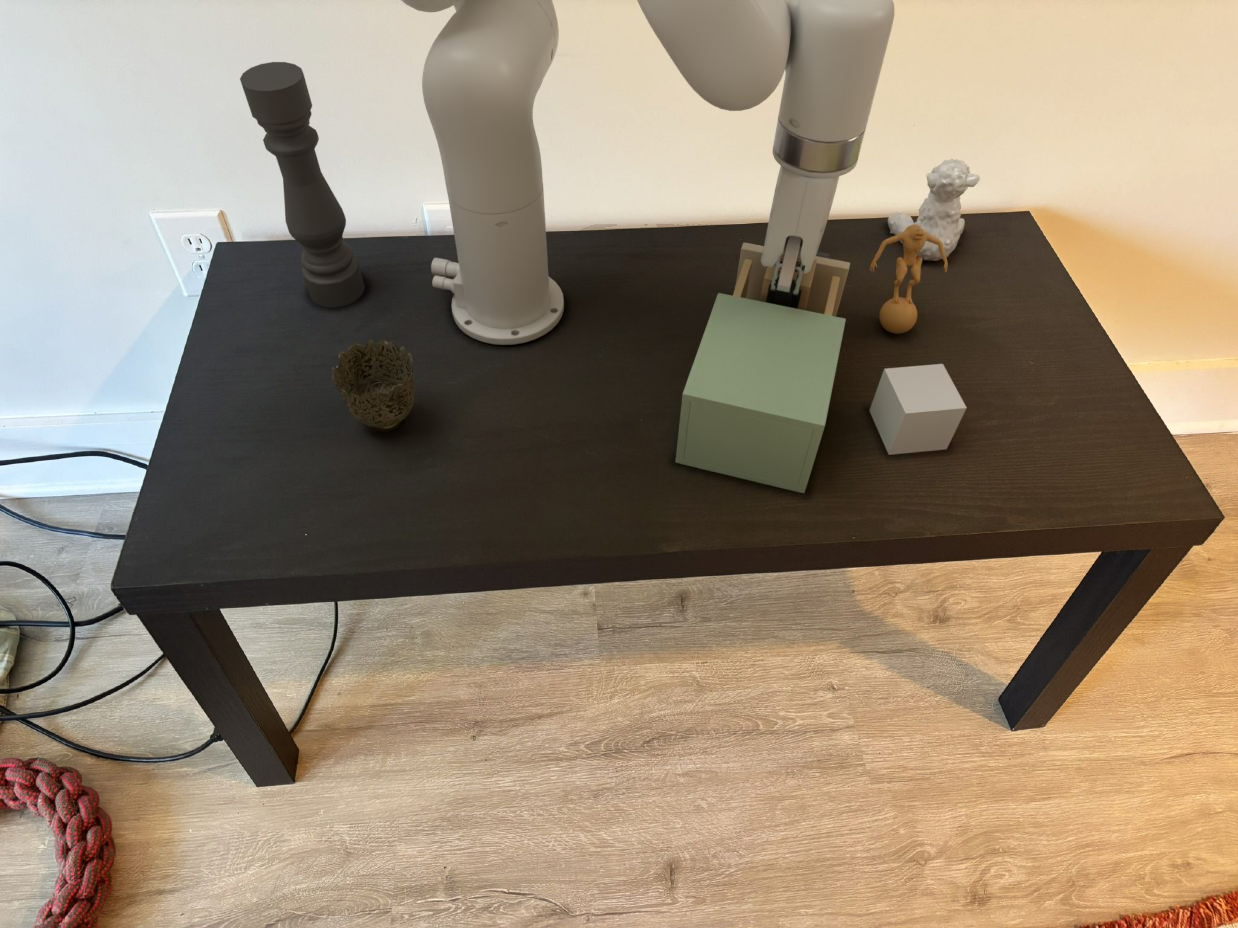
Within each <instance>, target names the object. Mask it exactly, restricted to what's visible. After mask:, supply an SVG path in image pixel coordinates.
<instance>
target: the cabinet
mask: <svg viewBox="0 0 1238 928" xmlns="http://www.w3.org/2000/svg"><path fill="white" fill-rule="evenodd" d="M846 321H847V319H846V318H844V317H839V316H836V317H835V316H830V315H825V314H820V313H815V312H810V311H805V310H800V309H795V308H790V307H786V306H781V305H776V304H771V303H766V302H761V301H756V300H751V299H746V298H741V297H736V296H733V295H731V294H730V295H729V294H725V293H721V292H718V293H717V295H716V297H715V301H714V303H713V306H712V309H711V312H710V315H709V319H708V320H707V324H706V326H705V329H704V332H703V335H702V337H701V341H700V343H699V347H698V349H697V351H696V355H695V358H694V361H693V363H692V366H691V369H690V372H689V374H688V377H687V380H686V383H685V385H684V389H683V391H682V396H681V405H680V414H679V415H680V416H679V425H678V433H677V442H676V453H675V463H676V464H680V465H684V466H688V467H692V468H697V469H700V470H704V471H708V472H712V473H717V474H721V475H726V476H730V477H733V478H737V479H742V480H746V481H749V482H750V481H751V482H754V483H759V484H763V485H768V486H771V487H776V488H780V489H784V490H788V491H792V492H796V493H801V494H805V493H806V489H807V486H808V483H809V479H810V476H811V473H812V470H813V466H814V463H815V460H816V456H817V455H818V454H817V453H818V451H819V447H820V444H821V440H822V437H823V434H824V430H825V427H826V423H827V417H828V413H829V407H830V402H831V397H832V392H833V386H834V383H835V382H834V381H835V376H836V372H837V366H838V362H839V357H840V351H841V346H842V341H843V336H844V331H845V326H846Z"/></svg>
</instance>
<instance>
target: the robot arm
mask: <svg viewBox="0 0 1238 928" xmlns="http://www.w3.org/2000/svg"><path fill="white" fill-rule="evenodd" d="M400 1H401V2H402V3H403V4H405V5H406V6H408V7H411V8H412V9H414V10H416V11H419V12H423V13H424V12H425V13H438V12H442V11H444V10H447V9H449V8H451V7H453V8H454V10H455V12H454V13H453V14H452V16H450V18H449V19H448V21H447V22H446V24H445V25H444V26H443V28H442V29H441V30H440V32H439V33H438V35H437V36H436V38H435V39H434V41H433V43H432V45H430V49H429V51H428V53H427V55H426V58H425V61H424V65H423V70H422V75H421V76H422V77H421V90H422V96H423V97H422V98H423V102H424V103H423V104H424V107H425V109H426V113H427V116H428V119H429V122H430V124H431V127H432V129H433V132H434V133H433V134H434V136H435V139H436V142H437V146H438V151H439V156H440V159H441V165H442V170H443V176H444V177H443V178H444V182H445V183H444V184H445V188H446V193H447V199H448V204H449V205H448V206H449V212H450V217H451V218H450V219H451V223H452V230H453V235H454V243H455V249H456V256H457V261H458V262H455V261H452V260H450V259H446V258H440V257H434V258H433V259H432V261H431V265H430V272H431V274H432V275H434V276H433V278H432V281H431V284H432V287H433V288H434V289H440V290H446V291H447V290H448V291H450V292H451V293H452V294H453V296H452V299H451V313H452V318H453V321H454V322H455V324H456V325H457V327H458V328H459V330H461V332H463V334H465V335H467V336H469V337H470V338H472V339H474V340H476V341H479V342H482V343H486V344H491V345H499V346H510V345H511V346H512V345H513V346H514V345H519V344H525V343H528V342H531V341H535V340H537V339H538V338H541V337H543V336H545V335H546V334H548V333H549V332H550V331H552V330H553V329H554V328H555V327H556V326H557V325H558V324H559V322H560V320H561V319H562V317H563V313H564V310H565V308H564V307H565V300H564V293H563V291H562V289H561V287H560V286H559V285H558V283H557V282H556V281H555V280H554V279H552V277H551V276H549V261H548V260H549V259H548V258H549V257H548V245H547V242H548V241H547V229H546V228H547V227H546V226H547V225H546V211H545V210H546V209H545V192H544V181H543V180H544V178H543V165H542V156H541V149H540V145H539V141H538V136H537V133H536V128H535V125H534V104H535V99H536V96H537V94H538V92H539V90H540V89H541V87H542V84H543V81H544V79H545V77H546V75H547V73H548V71H549V69H550V67H551V65H552V64H553V60H554V59H555V56H556V53H557V50H558V46H559V38H560V37H559V36H560V35H559V34H560V31H559V22H558V17H557V13H556V8H555V5H554V2H553V0H400ZM636 1H637V3H638V5H639V7H640V10H641V11H642V13H643V15H644V17H645V20H646V21H647V23H648V25H649V26H650V28H651V30H652V32H653V33H654V34H655V37H656V38H657V40H659V42H660V44H661V45H662V47H663V48H664V50H665V52H666V54H667V55H668V56H669V58H670V60H671V61H672V63H673V64H674V66H675V67H676V69H677V71H679V73H680V74H681V76H682V77H683V79H684V80H685V81H686V83H687V84H688V85H689V87H691V88H692V90H693V91H694V92H695V93H696V94H697V95H698V96H699V97H700V98H702V100H704V101H705V102H706V103H708V104H709V105H711V106H713V107H716V108H718V109H719V110H723V111H724V110H725V111H729V112H741V111H747V110H750V109H752V108H754V107H757V106H760V105H761V104H762V103H763V102H765V101H766V100H767V99H768V98H770V96H771V95H772V94H773V93H774V92H775V90H776V89H777V87H778V86H779V85H780V82H781V81H782V79H783V76H784V80H783V87H782V93H781V97H780V98H781V99H780V104H779V109H778V110H779V111H778V116H777V121H776V128H775V133H774V140H773V145H772V156H773V158H774V160H775V161H776V163H777V164H778V165H780V168H779V171H778V175H777V178H776V183H775V188H774V192H773V197H772V203H771V208H770V213H769V219H768V223H767V228H766V232H765V233H766V234H765V239H764V243H763V246H764V248H763V252H762V257H761V263H762V265H763V266H764V267H766V266H768V267H773V265H774V264H775V269H774V274H773V279H772V284H769V288H768V293H767V299H766V303H771V304H776V305H781V306H786V307H790V308H795V309H798V304H799V300H800V296H801V291H802V290H799V288H800V284H801V280H802V276H803V272H804V274H806V273H808V272H809V271H810V270H811V267H812V265H813V262H814V259H815V256H816V254H817V252H819V248H820V245H821V242H822V239H823V235H824V233H825V230H826V227H827V223H828V220H829V217H830V213H831V209H832V207H833V203H834V199H835V196H836V190H837V188H838V184H839V181H840V177H841V176H844V175H846V174H848V173H850V172H852V171H853V170H854V169H855V168H856V167H857V166H856V165H857V164H858V160H859V156H860V152H861V149H862V145H863V141H864V137H865V133H866V130H867V126H868V122H869V118H870V114H871V110H872V107H873V103H874V99H875V95H876V92H877V87H878V83H879V80H880V77H881V72H882V68H883V64H884V60H885V56H886V53H887V49H888V44H889V41H890V36H891V33H892V29H893V26H894V20H895V3H894V0H636ZM784 73H785V75H784ZM782 256H784V259H781V257H782ZM797 259H801V262H797ZM780 269H781V272H780ZM794 271H795V272H798V273H797V277H796V281H795V280H793V275H794ZM779 274H780V277H779ZM452 278H453V279H452Z"/></svg>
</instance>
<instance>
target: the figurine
mask: <svg viewBox="0 0 1238 928" xmlns="http://www.w3.org/2000/svg"><path fill="white" fill-rule="evenodd" d="M900 241H903V244H902V249H903V257H902V256H900V257H897V259H896V260H895V261H896V262H895V265H896V270H895V277H896V280H894V283H893V284H894V288H893V297H892V298H890V299H887V301H885V303H883V305H882V307H880V310H879V315H878V316H879V323H880V324H881V327H882V328H883V329H884V330H886V332H888V333H891V334H897V335H898V334H899V335H900V334H903V333H907V332H909V330H911V329H912V328H914V326H915V324H916V322H917V319H918V310H917V309H918V308H917V307H916V305H915V304H914V303H913V299H912V287H914V286H916V285H918V284H919V283H920V282H921V274H922V270H921V268H922V264H923V260H922V258H921V257H919V258H917V254H918V253H919V252H920V250H921V249H922V248H923V246H924V244H925V241H929V242H931V243H934V244H937V245H938V246H939V250H940V254H941V257H942V259H941V260H942V261H943V262H944V265H943V269H944V273H947V271H948V268H949V267H948V266H949V265H948V264H949V263H948V259H947V258H948V257H946V254H945V252H944V249H943V243H942V242H941V241H940V240H939V239H937V238H936V237H933V236H931V235H930V234H929V233H927V232H925V231H923V229H922V228H921V227H920V226H919V225H910V226H908V227H907V228H906V229H905V231H904V232H901V233H899V234H897V235H896V236H895V235H893V236H890V237H889V238H886V239H884V240H883V241H882V242H881V244H880V246H879V249H878V250H877V252H876V254H875V255H874V258H873V259H872V261H871V263H870V267H869V271H870V272H873V273H874V272H875V269H877V268H878V265H877V261H878V260H879V259H880V257H881V255H882V254H883V252H884V250H885V248H886V246H888V245H890V244H894V243H897V242H900ZM908 267H909V268H910V267H911V268H910V275H911V276H912V279H910V280H909V281H908V284H907V288H906V293H905V297H903V296H899V295H900V294H899V292H900V287H899V286H901V284H902V283H903V281H904V279H905V276H906V275H907V273H908Z"/></svg>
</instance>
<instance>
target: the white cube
mask: <svg viewBox="0 0 1238 928" xmlns="http://www.w3.org/2000/svg"><path fill="white" fill-rule="evenodd" d="M882 371H883V372H882V374H881V376H880V379H879V383H878V385H877V388H876V391H875V394H874V397H873V399H872V402H871V405H870V408H869V414H870V415H871V418H872V420H873V423H874V425H875V428H876V429H877V432H878V434H879V436H880V439H881V441H882V443H883V445H884V447H885V450H886V452H887V454H888V456H890V455H900V454H902V455H903V454H912V453H913V454H914V453H922V452H932V451H943V450H947V449H948V447H949V445H950V443H951V441H952V439H953V437H954V435H955V433H956V431H957V429H958V427H959V424H960V423H961V420H962V418H963V417H964V415H965V413H966V411H967V406H966V404H965V402H964V400H963V398H962V396H961V395H960V393H959V391H958V389H957V387H956V386H955V384H954V382H953V380H952V378H951V376H950V374H949V373H948V371H947V368H946V367H945V365H944V363H937V364H936V363H935V364H924V365H911V366H901V367H887V368H884V369H883V370H882Z"/></svg>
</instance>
